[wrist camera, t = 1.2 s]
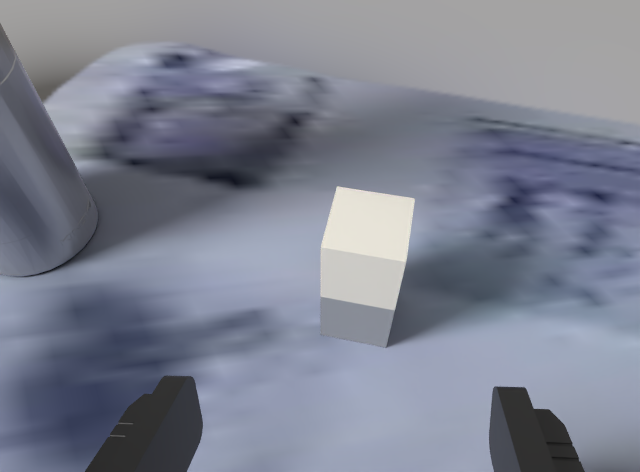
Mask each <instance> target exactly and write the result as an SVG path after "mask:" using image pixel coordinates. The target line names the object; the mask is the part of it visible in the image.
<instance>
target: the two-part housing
mask: <svg viewBox="0 0 640 472" xmlns="http://www.w3.org/2000/svg"><path fill="white" fill-rule="evenodd" d="M414 201H415V199H414V198H408V197H401V196H395V195H389V194H382V193H376V192H369V191H363V190H357V189H350V188H344V187H338V186H337V189H336V192H335V196H334V200H333V204H332V207H331V211H330V215H329V218H328V222H327V226H326V230H325V233H324V237H323V241H322V245H321V335H324V336H329V337H334V338H339V339H344V340H349V341H355V342H360V343H365V344H370V345H375V346H380V347H385V348H386V346H387V342H388V338H389V333H390V329H391V325H392V321H393V316H394V312H395V308H396V303H397V299H398V295H399V291H400V286H401V282H402V278H403V274H404V269H405V265H406V260H407V253H408V245H409V238H410V230H411V223H412V216H413V208H414Z"/></svg>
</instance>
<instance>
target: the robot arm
mask: <svg viewBox="0 0 640 472" xmlns="http://www.w3.org/2000/svg"><path fill="white" fill-rule="evenodd" d="M97 221H98V210H97V208H96V205H95V203H94V201H93V199H92V197H91V195H90V193H89V191H88V189H87V187H86V185H85V183H84V182H83V180H82V178H81V176H80V174H79V172H78V170H77V168H76V166H75V164H74V162H73V160H72V158H71V156H70V154H69V153H68V151H67V149H66V147H65V145H64V143H63V141H62V139H61V137H60V135H59V133H58V132H57V130H56V128H55V126H54V124H53V122H52V120H51V118H50V116H49V114H48V113H47V111H46V109H45V107H44V105H43V103H42V101H41V99H40V97H39V95H38V94H37V92H36V90H35V88H34V86H33V84H32V82H31V80H30V78H29V76H28V75H27V73H26V71H25V69H24V67H23V65H22V63H21V61H20V59H19V57H18V56H17V54H16V52H15V50H14V48H13V47H12V45H11V43H10V41H9V39H8V37H7V35H6V33H5V31H4V29H3V27H2V25H1V24H0V274H1V275H6V276H28V275H34V274H38V273H42V272H45V271H48V270H51V269H53V268H55V267H57V266H59V265H61V264H63V263H65V262H66V261H68V260H69V259H71V258H72V257H74V256H75V255H76V254H77V253H78V252H79V251H80V250H81V249H83V248H84V247H85V245H86V244H87V243H88V241H89V240H90V239H91V237H92V235H93V233H94V231H95V229H96V226H97ZM202 428H203V422H202V415H201V410H200V405H199V400H198V395H197V390H196V385H195V381H194V379H193V377H191V376H164V377H163V378H162V379H161V381H160V382H159V384H158V385H157V387H156V388H155V390H154V392H153V393H152V394H144V395H142V396H141V397H140V398H139V399H138V400H136V401H135V402H134V403H133V404H131V405H130V406H129V407H128V408H127V410H126V411H125V413H124V414H123V416H122V417H121V419H120V420H119V423H118V425H116V426H115V428H114V429H113V431H112V432H111V434H110V437H108V438H107V439H106V441H105V442H104V444H103V445H102V447H101V448H100V450H99V451H98V453H97V454H96V456H95V457H94V459H93V460H92V462H91V463H90V465H89V466H88V468H87V469H86V471H85V472H187V470H188V467H189V465H190V463H191V461H192V459H193V456H194V454H195V452H196V450H197V447H198V445H199V443H200V440H201V436H202ZM489 445H490V454H491V460H492V464H493V469H494V472H585V471H584V469H583V467H582V464H581V462H579V457H578V455H577V453H576V451H575V448H574V447H573V446H572V441H571V439H570V437H569V434H568V432H567V430H566V427H565V425H564V424H563V423H562V422H561V421H560V420H559V419H558V418H557V417H556V416H555V415H554V414H553V413H552V412H551V411H550V410H549V409H533V406H532V403H531V400H530V398H529V395H528V392H527V390H526V388H524V387H494V388H493V394H492V406H491V418H490V430H489Z"/></svg>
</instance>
